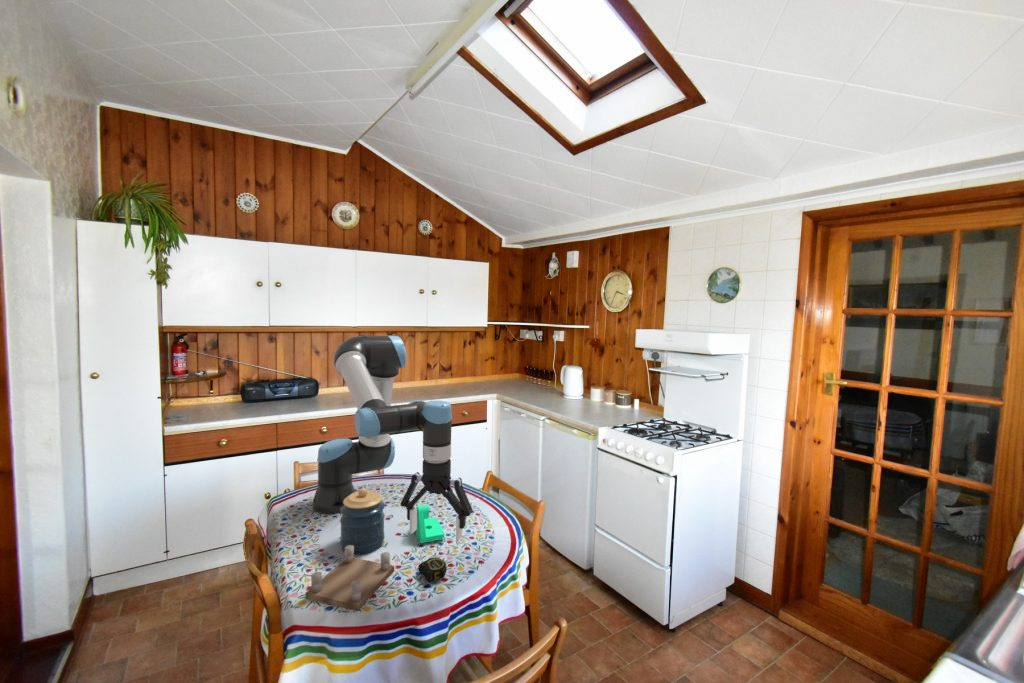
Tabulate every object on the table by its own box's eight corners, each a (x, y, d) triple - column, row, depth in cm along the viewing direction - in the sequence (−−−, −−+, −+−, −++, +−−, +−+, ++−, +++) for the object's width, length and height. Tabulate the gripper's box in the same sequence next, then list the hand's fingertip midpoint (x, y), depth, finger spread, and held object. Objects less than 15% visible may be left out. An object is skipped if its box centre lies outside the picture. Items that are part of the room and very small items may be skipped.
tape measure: (417, 574, 122) (417, 561, 122) (439, 566, 126) (440, 554, 126) (427, 587, 117) (427, 574, 116) (450, 579, 120) (450, 566, 120)
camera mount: (444, 541, 139) (445, 510, 139) (420, 546, 136) (421, 514, 136) (435, 524, 150) (436, 495, 150) (413, 528, 147) (413, 498, 146)
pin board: (305, 598, 110) (305, 577, 110) (347, 561, 127) (347, 543, 126) (357, 611, 107) (357, 589, 106) (394, 571, 123) (394, 552, 123)
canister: (372, 529, 146) (372, 477, 144) (392, 544, 136) (392, 489, 135) (333, 542, 136) (333, 487, 135) (351, 560, 127) (351, 501, 126)
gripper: (388, 458, 118) (387, 534, 120) (475, 469, 112) (474, 549, 113) (402, 449, 126) (401, 522, 127) (485, 459, 119) (483, 535, 121)
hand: (435, 535), depth 120 cm, fingers open, 13 cm apart
